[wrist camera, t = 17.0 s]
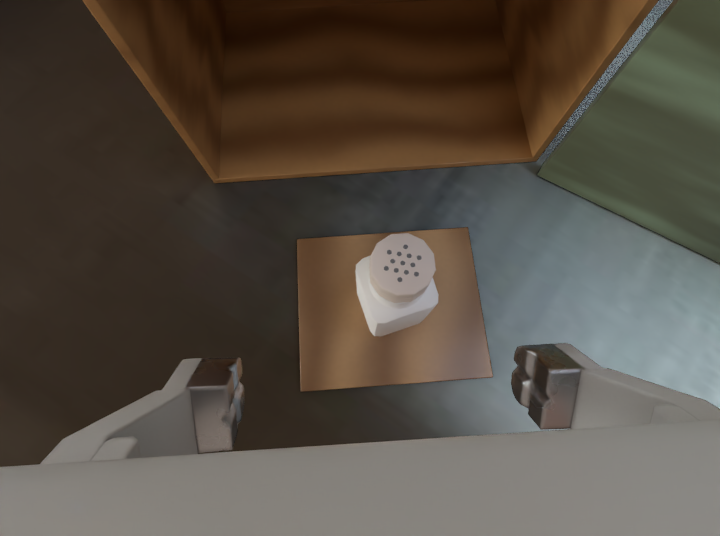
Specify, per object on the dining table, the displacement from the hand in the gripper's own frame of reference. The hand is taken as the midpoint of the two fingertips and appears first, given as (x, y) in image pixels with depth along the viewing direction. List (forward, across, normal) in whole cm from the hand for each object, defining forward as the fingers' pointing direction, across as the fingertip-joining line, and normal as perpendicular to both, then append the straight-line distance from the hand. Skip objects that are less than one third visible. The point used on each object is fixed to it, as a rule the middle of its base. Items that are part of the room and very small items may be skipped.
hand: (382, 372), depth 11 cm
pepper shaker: (+16, -3, +4) cm, 16 cm away
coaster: (+16, -3, +4) cm, 17 cm away
